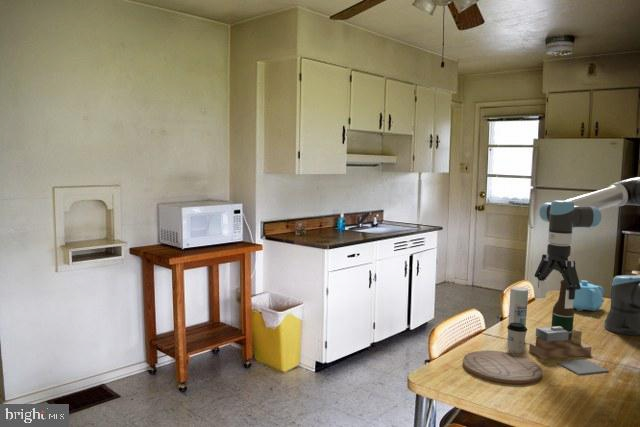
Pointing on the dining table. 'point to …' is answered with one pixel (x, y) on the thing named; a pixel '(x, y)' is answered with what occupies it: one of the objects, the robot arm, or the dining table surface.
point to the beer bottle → (563, 312)
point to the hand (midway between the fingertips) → (554, 302)
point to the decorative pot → (588, 297)
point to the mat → (582, 367)
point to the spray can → (518, 305)
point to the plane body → (560, 347)
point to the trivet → (502, 367)
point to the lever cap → (552, 333)
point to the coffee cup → (516, 337)
